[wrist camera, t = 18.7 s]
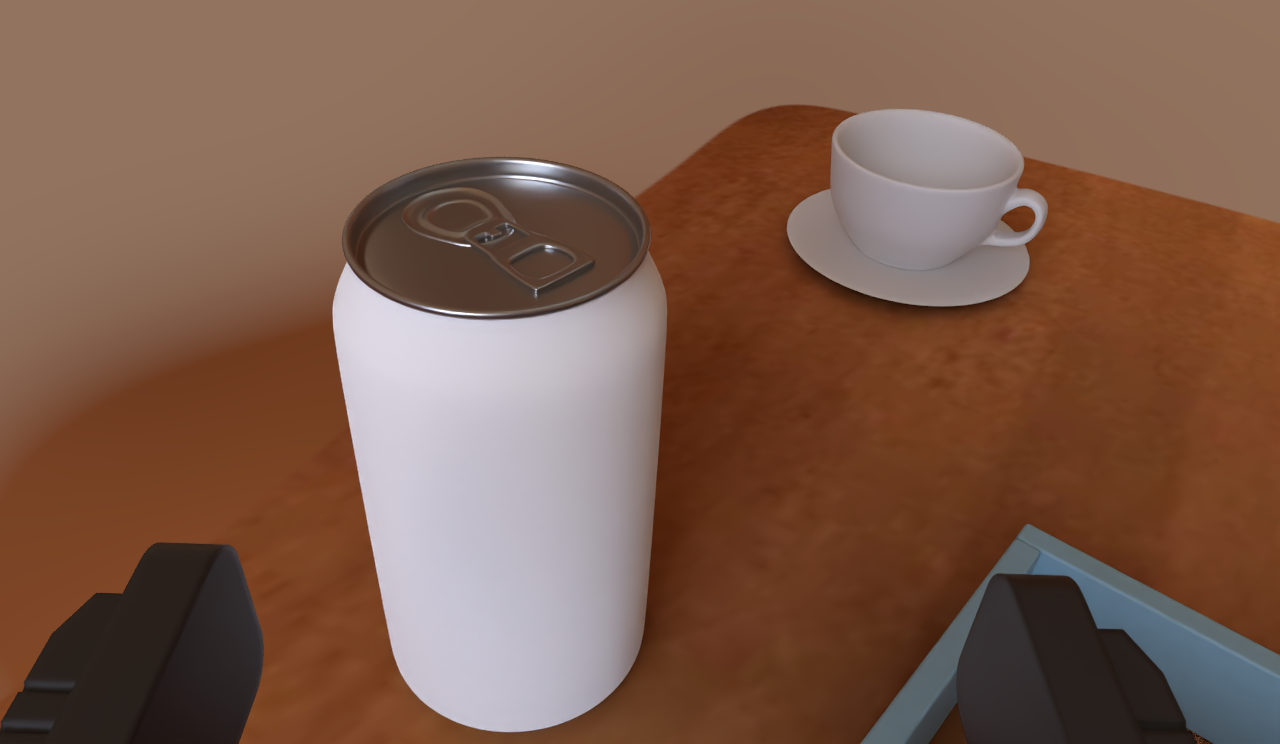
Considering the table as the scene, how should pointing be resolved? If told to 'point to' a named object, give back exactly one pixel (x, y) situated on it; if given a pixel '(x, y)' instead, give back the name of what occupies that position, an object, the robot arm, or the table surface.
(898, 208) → the teacup
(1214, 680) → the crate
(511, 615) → the can
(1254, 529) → the table surface
